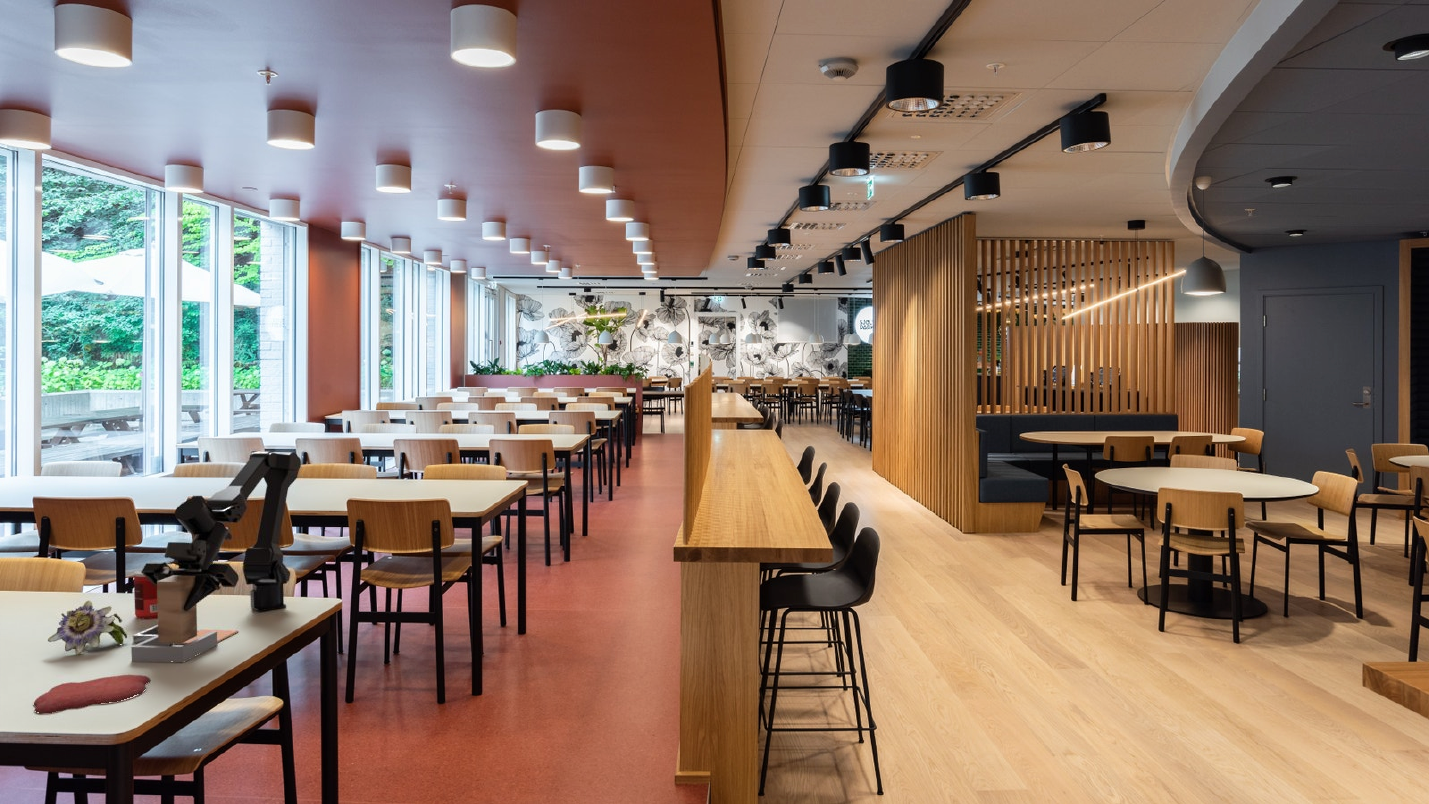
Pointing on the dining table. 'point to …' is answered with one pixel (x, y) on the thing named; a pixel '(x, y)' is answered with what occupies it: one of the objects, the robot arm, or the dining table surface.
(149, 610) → the canned food
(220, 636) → the pad
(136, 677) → the patty
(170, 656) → the channel
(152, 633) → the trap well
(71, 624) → the passion flower
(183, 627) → the walnut block
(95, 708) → the dining table surface
